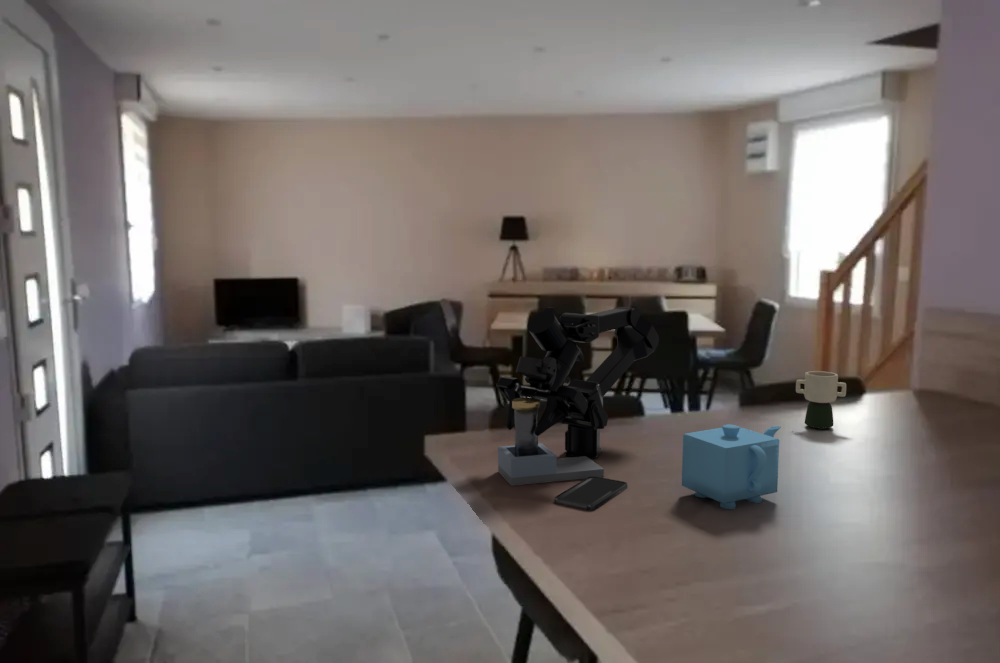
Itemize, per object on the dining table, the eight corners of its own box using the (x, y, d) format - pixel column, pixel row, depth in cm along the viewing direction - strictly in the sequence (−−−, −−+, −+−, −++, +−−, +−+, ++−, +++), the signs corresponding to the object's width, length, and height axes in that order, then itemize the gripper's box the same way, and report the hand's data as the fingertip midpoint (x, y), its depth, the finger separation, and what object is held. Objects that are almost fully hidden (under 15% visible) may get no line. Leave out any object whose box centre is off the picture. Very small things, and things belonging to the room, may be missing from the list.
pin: (537, 463, 149) (536, 397, 147) (543, 471, 144) (542, 403, 142) (511, 465, 149) (509, 398, 147) (515, 473, 143) (514, 404, 142)
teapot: (734, 518, 125) (737, 441, 123) (671, 490, 139) (673, 420, 137) (812, 500, 133) (816, 427, 131) (745, 475, 147) (748, 409, 145)
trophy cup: (844, 426, 182) (847, 372, 181) (843, 433, 176) (846, 378, 174) (795, 422, 187) (797, 369, 185) (793, 428, 180) (795, 374, 179)
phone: (551, 498, 132) (591, 475, 145) (551, 504, 132) (591, 481, 145) (593, 507, 128) (630, 482, 140) (593, 514, 128) (629, 488, 141)
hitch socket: (585, 463, 155) (586, 439, 154) (603, 476, 146) (604, 451, 146) (498, 471, 150) (498, 446, 149) (511, 485, 141) (511, 459, 141)
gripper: (501, 336, 152) (464, 400, 145) (580, 344, 140) (543, 415, 133) (526, 369, 159) (491, 432, 152) (602, 380, 147) (569, 449, 140)
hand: (522, 431), depth 144 cm, fingers open, 6 cm apart
